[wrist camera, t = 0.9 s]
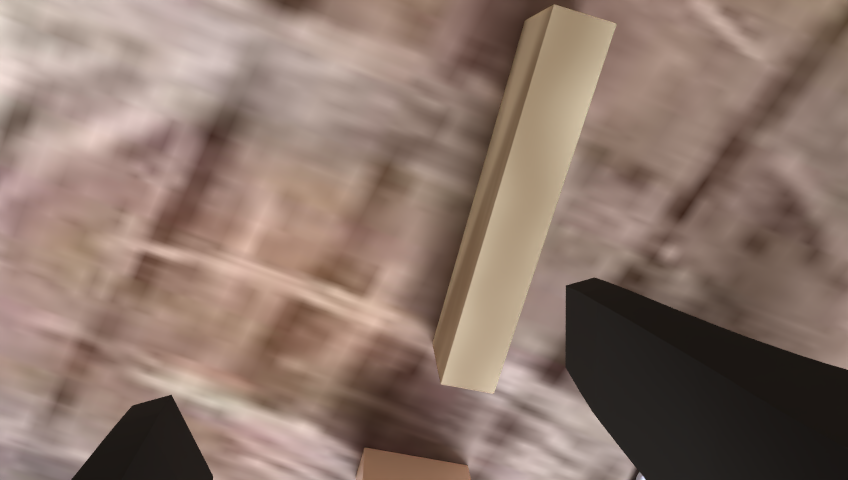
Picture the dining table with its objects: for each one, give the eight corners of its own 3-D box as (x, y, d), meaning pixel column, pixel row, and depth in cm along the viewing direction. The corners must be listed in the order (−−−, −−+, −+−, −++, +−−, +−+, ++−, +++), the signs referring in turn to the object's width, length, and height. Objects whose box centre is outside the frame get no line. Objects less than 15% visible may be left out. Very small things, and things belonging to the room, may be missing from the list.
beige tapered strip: (575, 37, 22) (616, 23, 18) (477, 349, 26) (493, 393, 22) (523, 21, 21) (554, 4, 17) (431, 341, 25) (440, 384, 22)
